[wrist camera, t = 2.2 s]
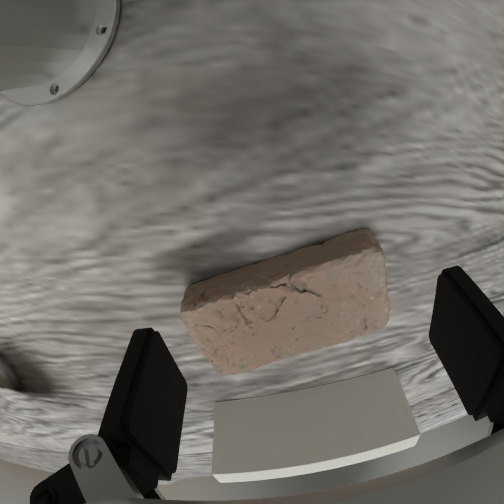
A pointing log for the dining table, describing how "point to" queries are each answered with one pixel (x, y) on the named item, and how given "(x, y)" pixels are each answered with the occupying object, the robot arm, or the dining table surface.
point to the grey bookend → (312, 428)
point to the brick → (289, 303)
